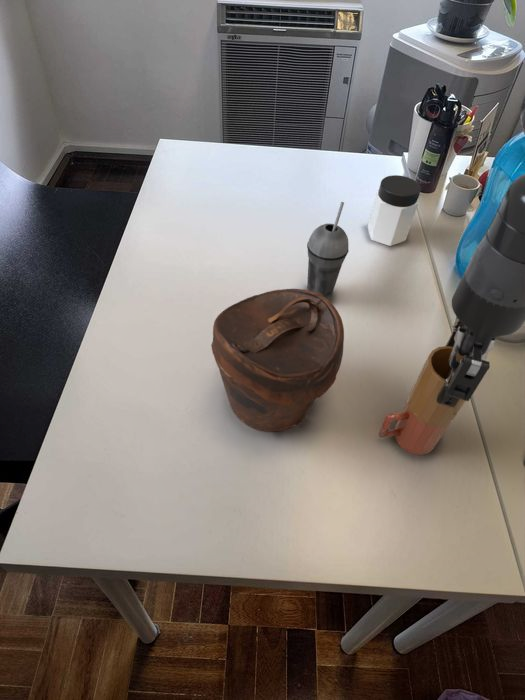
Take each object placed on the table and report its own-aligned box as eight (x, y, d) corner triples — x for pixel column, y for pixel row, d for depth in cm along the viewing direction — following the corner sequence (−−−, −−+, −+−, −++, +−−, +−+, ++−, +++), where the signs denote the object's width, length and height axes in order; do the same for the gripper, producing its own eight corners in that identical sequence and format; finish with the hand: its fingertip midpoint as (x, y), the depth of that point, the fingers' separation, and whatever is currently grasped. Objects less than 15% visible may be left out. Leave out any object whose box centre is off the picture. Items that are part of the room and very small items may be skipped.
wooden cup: (443, 385, 67) (467, 344, 60) (462, 423, 63) (490, 383, 56) (401, 390, 66) (420, 348, 60) (418, 429, 62) (440, 389, 55)
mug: (425, 416, 73) (443, 386, 67) (441, 452, 69) (462, 423, 63) (368, 423, 72) (381, 393, 66) (382, 460, 68) (396, 431, 62)
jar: (408, 247, 102) (426, 197, 93) (371, 246, 101) (385, 196, 92) (399, 223, 108) (415, 174, 99) (364, 222, 107) (377, 173, 98)
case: (335, 359, 80) (356, 279, 66) (320, 464, 67) (343, 390, 53) (233, 340, 82) (233, 257, 68) (199, 439, 69) (192, 361, 55)
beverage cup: (293, 288, 91) (305, 195, 76) (326, 280, 93) (345, 188, 78) (309, 313, 87) (326, 220, 72) (344, 304, 89) (367, 212, 74)
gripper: (544, 338, 42) (474, 432, 55) (541, 249, 51) (482, 347, 63) (459, 315, 44) (410, 411, 56) (471, 232, 53) (426, 331, 65)
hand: (448, 377), depth 60 cm, fingers open, 8 cm apart
